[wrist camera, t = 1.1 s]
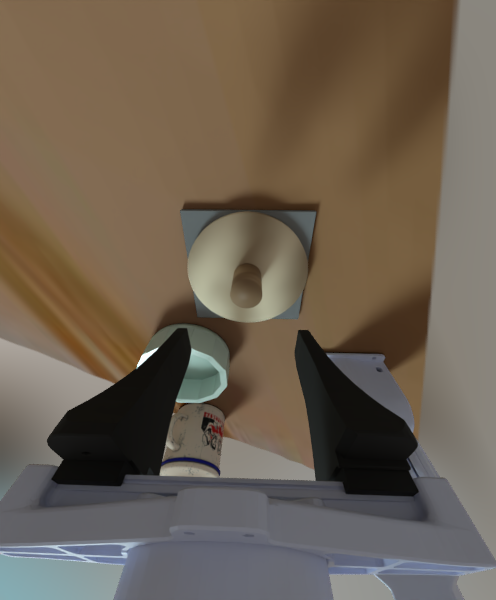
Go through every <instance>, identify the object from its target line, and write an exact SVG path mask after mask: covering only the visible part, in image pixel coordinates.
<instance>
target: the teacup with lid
mask: <svg viewBox="0 0 496 600" xmlns="http://www.w3.org/2000/svg"><path fill="white" fill-rule="evenodd" d="M224 421H225V417H224V414H223V413H222V411H221V410H219V409H218V408H216V407H214V406H212V405H209V404H204V403H191V404H187V405H185V406H183V407H181V408H180V409H179V411H178V413H176V414H174V415H173V416H172V418H171V422H170V426H169V431H168V435H167V440H166V445H167V449H166V452H165V456H164V459H163V462H162V465H161V470H160V476H184V477H214V478H219V476H220V470H219V465H220V456H221V447H222V439H223V430H224Z"/></svg>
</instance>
